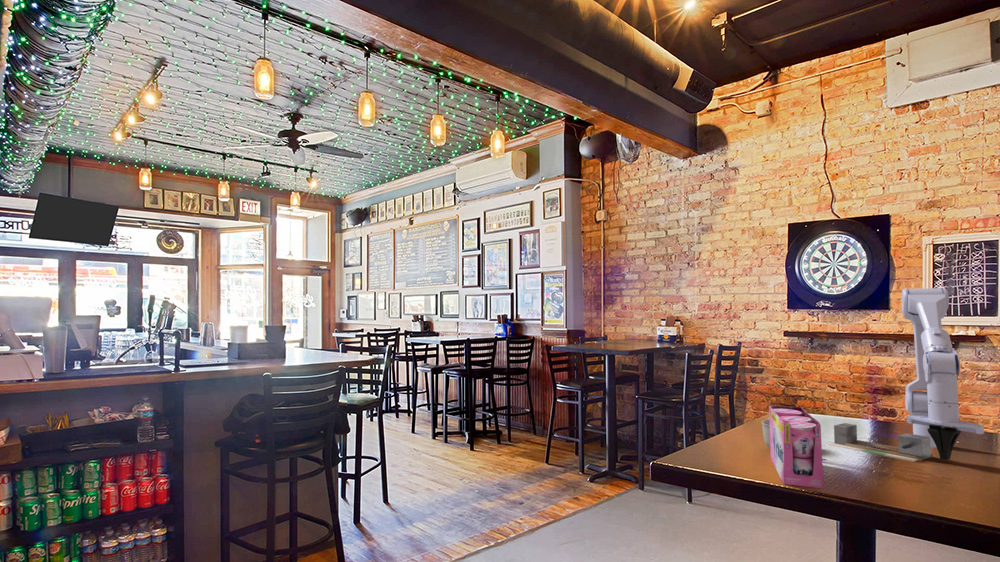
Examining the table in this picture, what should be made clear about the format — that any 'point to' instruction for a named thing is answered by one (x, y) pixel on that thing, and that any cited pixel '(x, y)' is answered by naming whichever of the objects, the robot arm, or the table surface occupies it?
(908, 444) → the gauge carriage
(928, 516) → the table surface
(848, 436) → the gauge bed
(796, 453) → the gum box
